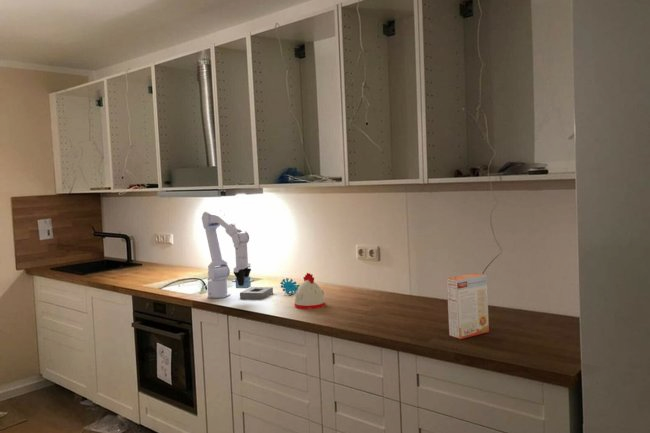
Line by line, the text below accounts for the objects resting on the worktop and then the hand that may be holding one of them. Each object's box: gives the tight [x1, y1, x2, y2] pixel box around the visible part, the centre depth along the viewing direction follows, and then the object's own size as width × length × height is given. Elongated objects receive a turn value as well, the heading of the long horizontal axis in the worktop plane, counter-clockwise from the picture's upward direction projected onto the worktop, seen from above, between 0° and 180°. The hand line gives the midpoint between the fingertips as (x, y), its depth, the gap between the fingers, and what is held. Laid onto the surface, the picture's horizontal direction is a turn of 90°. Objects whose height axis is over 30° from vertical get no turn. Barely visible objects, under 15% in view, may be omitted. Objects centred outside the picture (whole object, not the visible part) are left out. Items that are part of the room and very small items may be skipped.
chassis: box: [239, 286, 274, 300], centre depth 264 cm, size 12×14×3 cm
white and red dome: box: [294, 272, 326, 310], centre depth 238 cm, size 14×14×15 cm
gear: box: [280, 277, 301, 295], centre depth 268 cm, size 11×6×10 cm
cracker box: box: [446, 272, 490, 340], centre depth 183 cm, size 14×6×21 cm, turn 118°
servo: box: [231, 276, 255, 289], centre depth 252 cm, size 4×10×6 cm, turn 73°
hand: (243, 284), depth 252 cm, fingers closed on servo, 4 cm apart
